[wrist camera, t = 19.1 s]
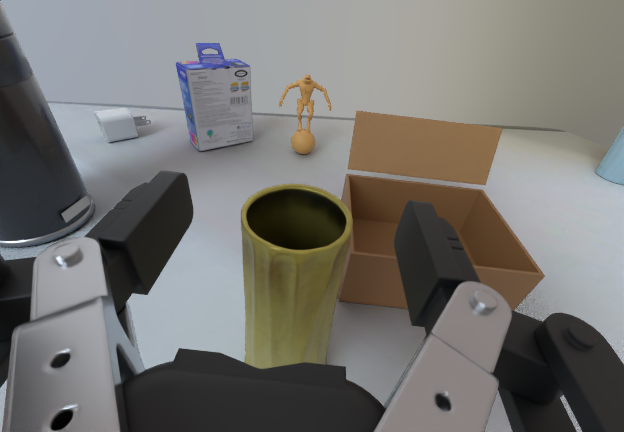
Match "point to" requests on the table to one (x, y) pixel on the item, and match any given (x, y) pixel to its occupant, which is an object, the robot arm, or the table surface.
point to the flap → (423, 148)
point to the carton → (449, 205)
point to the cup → (614, 161)
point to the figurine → (302, 138)
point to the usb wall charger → (119, 124)
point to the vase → (292, 272)
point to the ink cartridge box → (216, 99)
